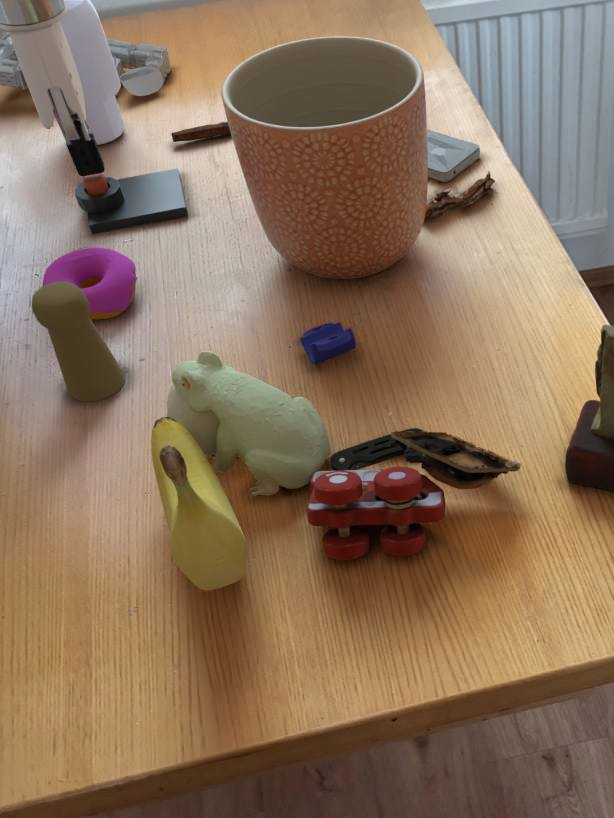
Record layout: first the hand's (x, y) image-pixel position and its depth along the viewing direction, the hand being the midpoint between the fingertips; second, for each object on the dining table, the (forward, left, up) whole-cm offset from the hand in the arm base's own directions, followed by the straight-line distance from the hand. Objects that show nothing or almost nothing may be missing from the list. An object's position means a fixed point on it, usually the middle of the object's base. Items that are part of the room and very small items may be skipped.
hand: (92, 171), depth 113 cm
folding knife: (+55, -21, -4) cm, 59 cm away
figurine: (+44, -27, -5) cm, 52 cm away
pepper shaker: (+23, -26, -5) cm, 35 cm away
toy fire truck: (+63, -33, -1) cm, 71 cm away
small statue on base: (+77, -12, -5) cm, 78 cm away
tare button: (0, 0, -2) cm, 2 cm away
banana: (+49, -39, -5) cm, 63 cm away
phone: (+29, +29, -4) cm, 41 cm away
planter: (+34, +6, -5) cm, 35 cm away
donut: (+13, -15, -5) cm, 21 cm away
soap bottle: (-15, +14, -5) cm, 21 cm away
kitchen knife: (+3, +26, -5) cm, 26 cm away
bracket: (+42, -11, -2) cm, 44 cm away
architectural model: (-26, +25, -1) cm, 36 cm away
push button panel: (+3, +3, -5) cm, 6 cm away
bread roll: (+67, -18, -5) cm, 70 cm away
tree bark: (+37, +21, -6) cm, 44 cm away
